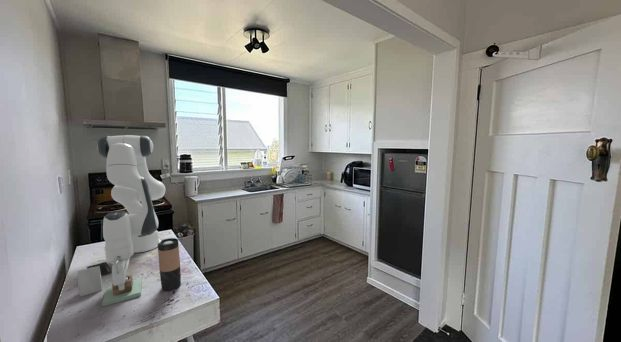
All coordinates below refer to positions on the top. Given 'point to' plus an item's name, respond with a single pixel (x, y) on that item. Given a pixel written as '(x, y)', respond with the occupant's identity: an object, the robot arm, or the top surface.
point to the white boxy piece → (89, 281)
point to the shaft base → (119, 297)
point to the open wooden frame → (127, 285)
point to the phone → (102, 268)
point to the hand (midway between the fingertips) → (122, 284)
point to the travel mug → (169, 264)
